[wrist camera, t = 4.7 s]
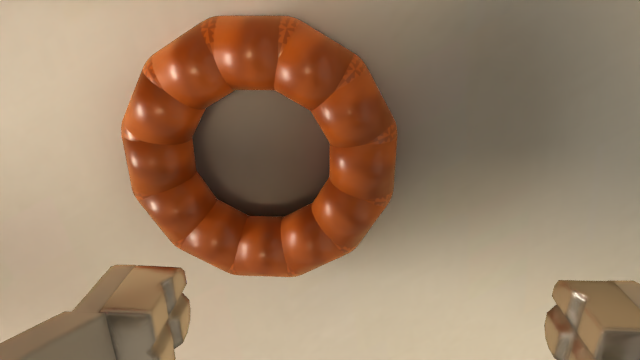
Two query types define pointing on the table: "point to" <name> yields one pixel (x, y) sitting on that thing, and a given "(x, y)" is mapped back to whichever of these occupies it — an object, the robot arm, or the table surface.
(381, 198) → the ring
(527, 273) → the table surface
